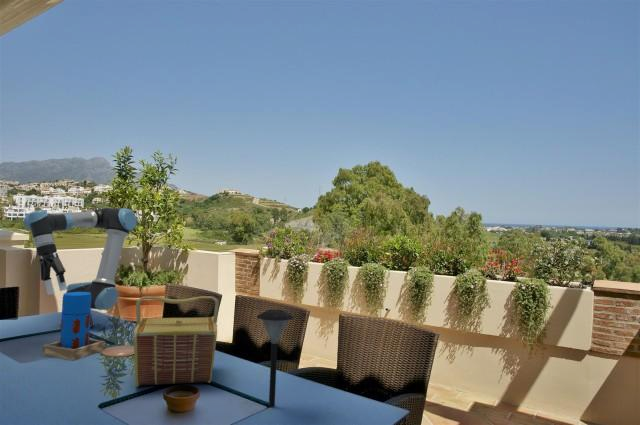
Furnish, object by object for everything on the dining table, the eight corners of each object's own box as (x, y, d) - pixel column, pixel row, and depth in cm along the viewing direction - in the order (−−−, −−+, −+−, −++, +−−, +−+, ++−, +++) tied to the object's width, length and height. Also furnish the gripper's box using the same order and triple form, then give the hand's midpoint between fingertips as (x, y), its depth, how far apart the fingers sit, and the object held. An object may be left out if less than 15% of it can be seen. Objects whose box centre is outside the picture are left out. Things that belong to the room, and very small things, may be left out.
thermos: (93, 350, 202) (96, 292, 202) (78, 357, 191) (81, 296, 192) (70, 348, 203) (73, 291, 203) (53, 355, 192) (57, 294, 193)
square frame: (75, 345, 207) (75, 336, 207) (104, 350, 202) (104, 341, 202) (42, 355, 192) (43, 345, 192) (73, 360, 186) (73, 350, 186)
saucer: (120, 345, 211) (120, 343, 211) (149, 349, 206) (149, 348, 206) (92, 353, 196) (92, 352, 196) (123, 358, 191) (123, 357, 191)
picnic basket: (127, 393, 154) (131, 302, 154) (136, 369, 178) (140, 291, 179) (217, 388, 161) (221, 302, 162) (214, 366, 186) (217, 291, 187)
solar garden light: (291, 399, 154) (295, 308, 155) (290, 414, 142) (294, 315, 142) (254, 398, 153) (258, 307, 154) (250, 413, 141) (254, 314, 142)
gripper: (25, 252, 209) (37, 298, 208) (47, 241, 193) (60, 290, 193) (43, 249, 215) (54, 293, 214) (66, 238, 199) (78, 286, 198)
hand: (57, 292), depth 203 cm, fingers open, 13 cm apart
